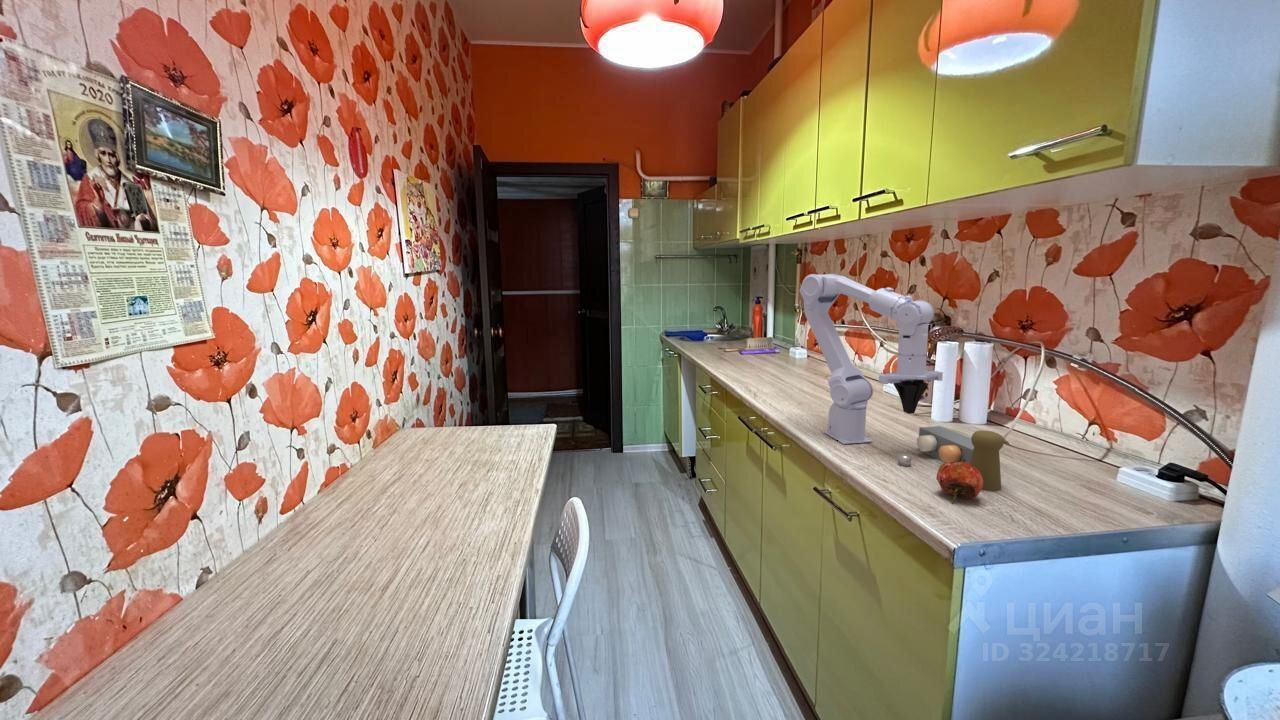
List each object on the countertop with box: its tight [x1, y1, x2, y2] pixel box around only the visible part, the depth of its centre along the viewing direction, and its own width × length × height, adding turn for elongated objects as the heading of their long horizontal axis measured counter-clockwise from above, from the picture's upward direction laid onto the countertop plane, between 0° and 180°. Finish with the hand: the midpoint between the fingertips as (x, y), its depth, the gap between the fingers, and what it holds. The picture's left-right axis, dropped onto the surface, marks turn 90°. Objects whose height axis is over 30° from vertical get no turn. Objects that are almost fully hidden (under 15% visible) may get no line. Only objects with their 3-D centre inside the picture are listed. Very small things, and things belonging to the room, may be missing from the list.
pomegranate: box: [936, 460, 983, 505], centre depth 93 cm, size 7×7×10 cm
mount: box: [917, 425, 974, 464], centre depth 111 cm, size 16×6×6 cm, turn 9°
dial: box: [897, 453, 913, 468], centre depth 109 cm, size 3×3×2 cm
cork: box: [970, 429, 1005, 492], centre depth 97 cm, size 6×6×11 cm
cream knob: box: [916, 435, 938, 453], centre depth 114 cm, size 4×10×4 cm, turn 99°
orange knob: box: [939, 445, 962, 463], centre depth 107 cm, size 4×10×4 cm, turn 98°
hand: (908, 412), depth 113 cm, fingers closed
